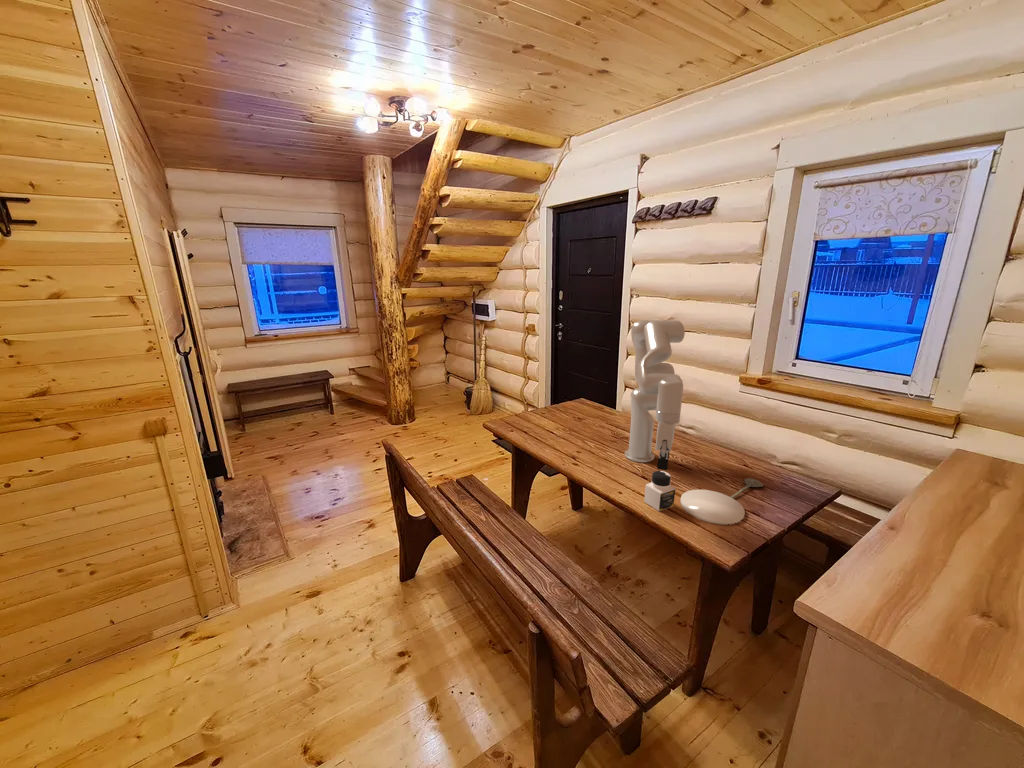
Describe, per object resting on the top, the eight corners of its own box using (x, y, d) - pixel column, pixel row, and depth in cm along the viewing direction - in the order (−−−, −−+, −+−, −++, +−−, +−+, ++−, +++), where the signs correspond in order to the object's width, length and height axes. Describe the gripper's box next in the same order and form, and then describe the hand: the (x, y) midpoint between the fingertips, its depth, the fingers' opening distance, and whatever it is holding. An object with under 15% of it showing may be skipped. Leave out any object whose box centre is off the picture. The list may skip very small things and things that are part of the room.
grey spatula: (766, 488, 155) (749, 482, 160) (768, 480, 154) (750, 474, 159) (738, 504, 142) (720, 497, 148) (739, 496, 142) (721, 489, 147)
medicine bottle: (659, 511, 138) (662, 480, 135) (643, 501, 144) (646, 471, 141) (673, 506, 141) (677, 475, 138) (658, 496, 147) (661, 467, 144)
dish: (681, 488, 153) (681, 485, 153) (741, 499, 145) (741, 496, 145) (679, 516, 135) (679, 513, 135) (747, 530, 128) (748, 527, 127)
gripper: (658, 407, 143) (653, 451, 147) (653, 422, 127) (649, 472, 132) (680, 409, 140) (675, 455, 144) (679, 425, 125) (673, 476, 129)
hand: (663, 463), depth 138 cm, fingers open, 9 cm apart
